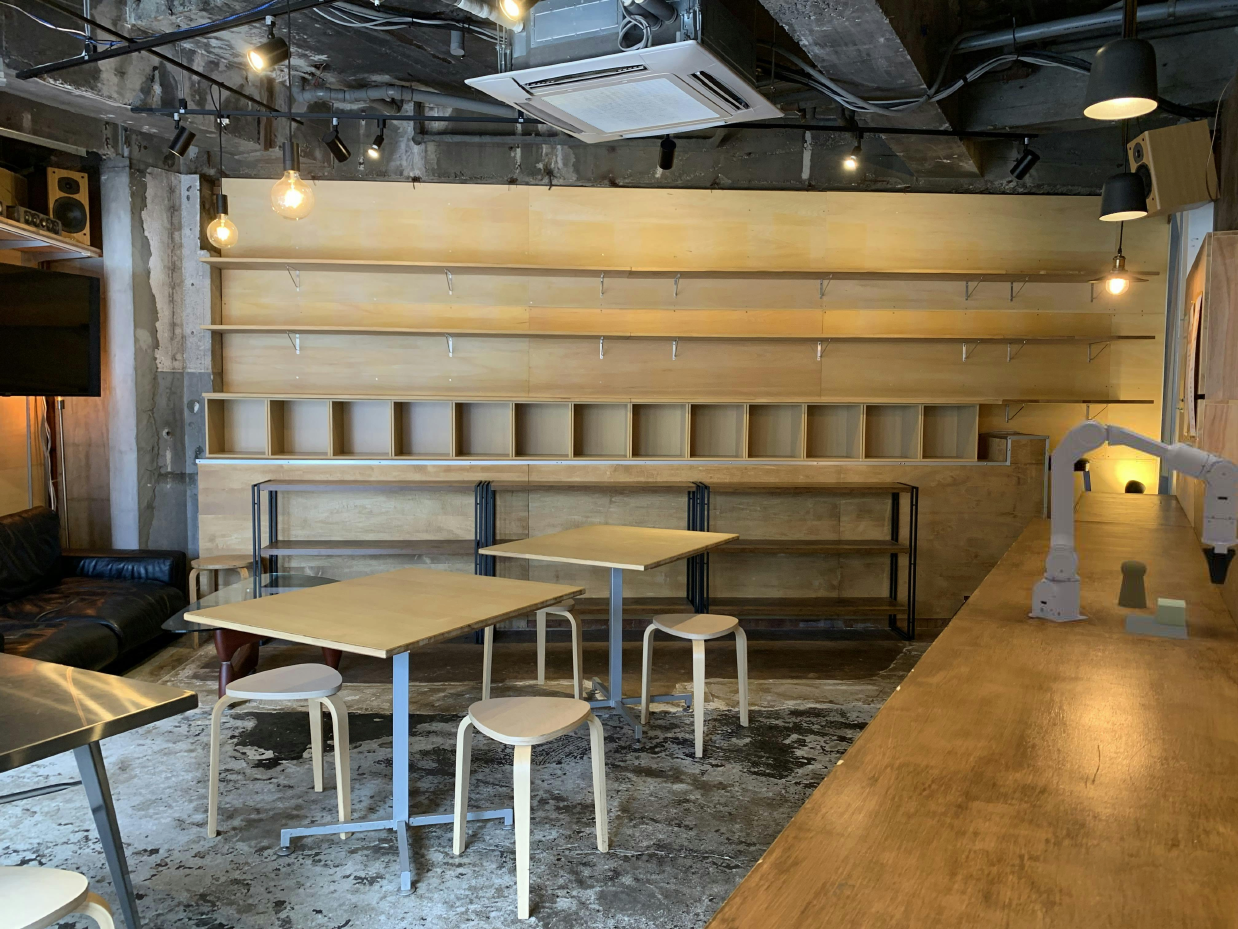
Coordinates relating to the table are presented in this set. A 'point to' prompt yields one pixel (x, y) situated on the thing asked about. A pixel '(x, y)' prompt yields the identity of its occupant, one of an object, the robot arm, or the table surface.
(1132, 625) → the mat
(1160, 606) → the block
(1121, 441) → the robot arm
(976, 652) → the table surface
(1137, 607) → the cork
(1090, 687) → the table surface
